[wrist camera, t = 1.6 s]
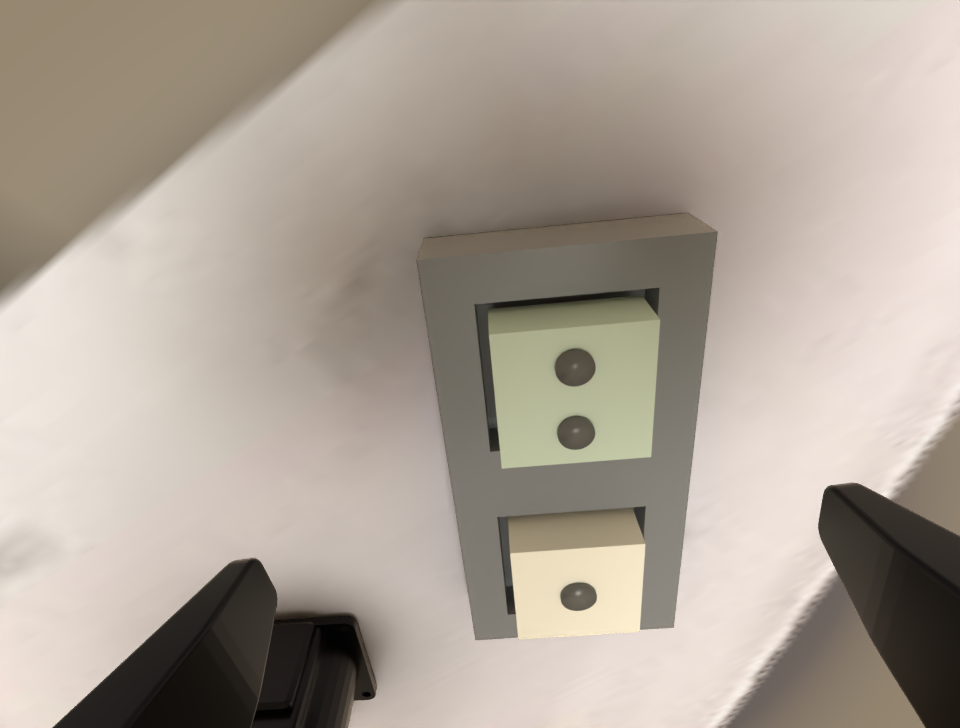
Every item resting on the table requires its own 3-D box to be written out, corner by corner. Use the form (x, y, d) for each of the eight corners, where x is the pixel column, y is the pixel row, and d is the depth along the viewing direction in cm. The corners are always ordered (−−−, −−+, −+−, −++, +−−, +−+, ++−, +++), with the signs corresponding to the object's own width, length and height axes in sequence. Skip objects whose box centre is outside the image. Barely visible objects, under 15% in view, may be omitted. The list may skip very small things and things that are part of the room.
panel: (657, 581, 27) (673, 627, 24) (475, 594, 27) (475, 640, 25) (688, 213, 18) (717, 231, 16) (423, 238, 19) (416, 260, 16)
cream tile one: (627, 591, 24) (641, 636, 22) (515, 598, 24) (518, 644, 22) (631, 505, 22) (646, 548, 20) (507, 515, 22) (510, 557, 20)
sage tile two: (635, 423, 20) (652, 460, 18) (499, 433, 20) (501, 472, 18) (641, 295, 17) (662, 322, 15) (487, 308, 18) (488, 337, 16)
